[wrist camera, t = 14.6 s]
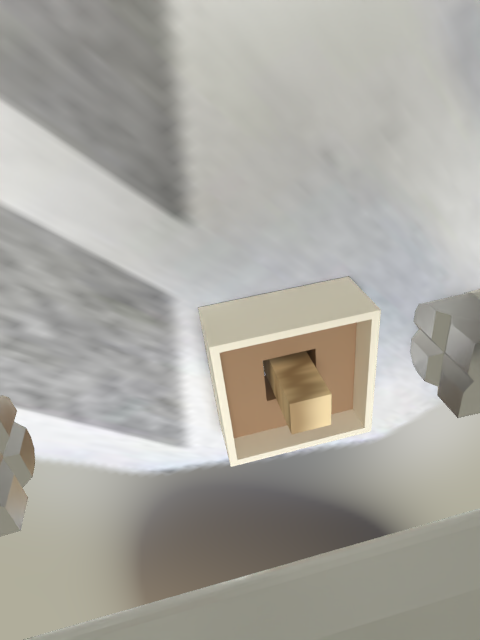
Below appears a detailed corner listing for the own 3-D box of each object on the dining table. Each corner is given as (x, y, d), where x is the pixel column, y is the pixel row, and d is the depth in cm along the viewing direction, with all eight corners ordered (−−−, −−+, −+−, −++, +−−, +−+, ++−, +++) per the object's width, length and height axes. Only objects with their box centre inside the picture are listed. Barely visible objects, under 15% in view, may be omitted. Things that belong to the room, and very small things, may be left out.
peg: (296, 334, 48) (331, 394, 40) (297, 362, 51) (331, 424, 42) (261, 342, 48) (289, 404, 40) (264, 370, 50) (291, 434, 42)
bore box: (348, 276, 46) (380, 309, 40) (344, 390, 55) (370, 431, 49) (197, 307, 44) (209, 347, 38) (219, 420, 53) (231, 466, 47)
